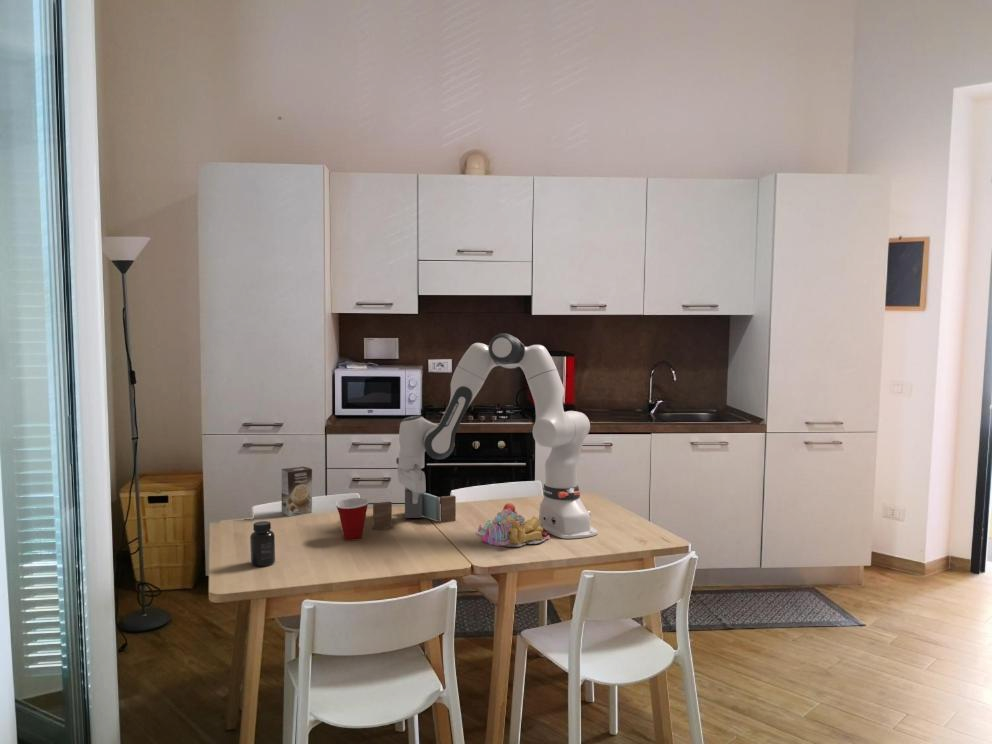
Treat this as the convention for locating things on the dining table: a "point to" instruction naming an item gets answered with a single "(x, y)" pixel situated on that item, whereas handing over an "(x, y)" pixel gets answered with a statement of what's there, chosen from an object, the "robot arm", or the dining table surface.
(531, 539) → the candy landscape model
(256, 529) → the supplement bottle
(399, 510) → the dining table surface
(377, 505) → the wooden blocks
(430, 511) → the door
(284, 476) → the coffee box
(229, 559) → the dining table surface
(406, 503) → the block
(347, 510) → the plastic cup
